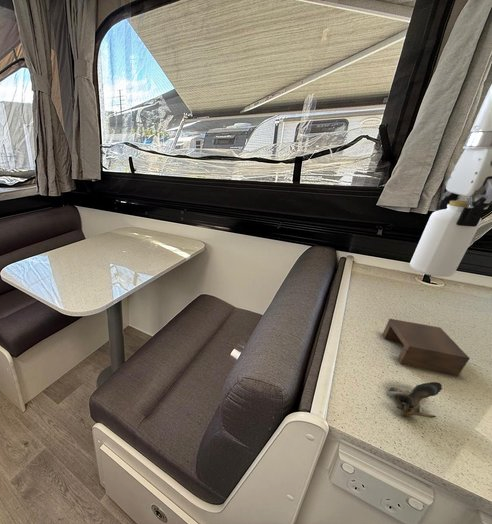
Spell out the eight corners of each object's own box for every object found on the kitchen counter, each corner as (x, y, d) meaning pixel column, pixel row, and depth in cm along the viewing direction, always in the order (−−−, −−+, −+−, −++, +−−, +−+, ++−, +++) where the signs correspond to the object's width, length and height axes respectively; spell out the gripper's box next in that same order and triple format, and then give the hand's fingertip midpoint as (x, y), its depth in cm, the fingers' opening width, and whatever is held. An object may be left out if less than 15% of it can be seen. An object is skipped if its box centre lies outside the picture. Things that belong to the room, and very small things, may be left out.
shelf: (429, 346, 68) (440, 327, 65) (456, 379, 59) (470, 358, 56) (381, 337, 71) (389, 318, 69) (398, 366, 62) (409, 346, 60)
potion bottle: (422, 263, 75) (452, 197, 67) (461, 276, 67) (500, 204, 60) (400, 266, 73) (428, 199, 65) (437, 280, 65) (473, 206, 58)
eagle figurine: (445, 436, 46) (451, 399, 51) (428, 402, 46) (435, 367, 50) (389, 423, 53) (399, 391, 57) (373, 393, 52) (384, 363, 57)
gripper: (554, 141, 49) (502, 232, 56) (488, 141, 63) (453, 213, 70) (496, 141, 51) (454, 229, 58) (445, 141, 66) (416, 211, 73)
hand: (453, 220), depth 64 cm, fingers closed on potion bottle, 8 cm apart
